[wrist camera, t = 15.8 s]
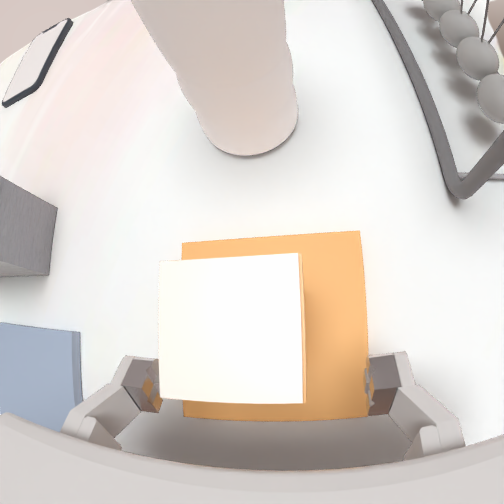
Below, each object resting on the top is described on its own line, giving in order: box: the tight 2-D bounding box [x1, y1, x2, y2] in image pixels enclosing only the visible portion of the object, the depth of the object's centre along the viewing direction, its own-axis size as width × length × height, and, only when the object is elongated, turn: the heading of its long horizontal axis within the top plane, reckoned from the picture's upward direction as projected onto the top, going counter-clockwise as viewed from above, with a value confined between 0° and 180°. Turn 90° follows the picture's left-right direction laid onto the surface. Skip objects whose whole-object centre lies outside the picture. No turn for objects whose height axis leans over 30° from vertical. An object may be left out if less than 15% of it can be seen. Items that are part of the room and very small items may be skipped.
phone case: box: [2, 18, 73, 108], centre depth 33 cm, size 9×2×16 cm
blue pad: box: [0, 322, 83, 432], centre depth 20 cm, size 11×11×1 cm
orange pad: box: [182, 231, 368, 421], centre depth 19 cm, size 11×11×1 cm
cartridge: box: [158, 253, 307, 404], centre depth 14 cm, size 5×5×9 cm
